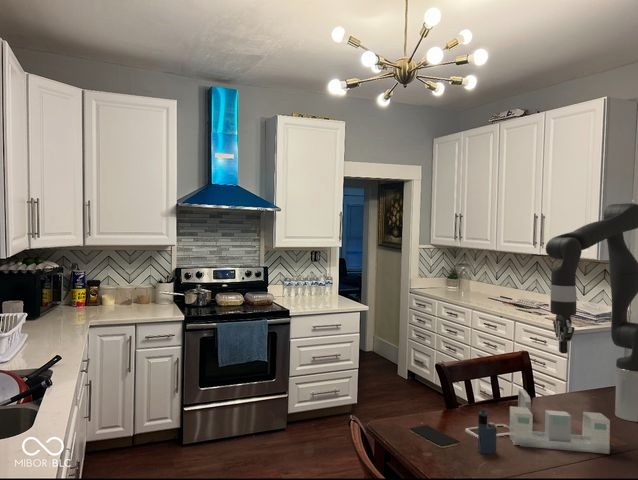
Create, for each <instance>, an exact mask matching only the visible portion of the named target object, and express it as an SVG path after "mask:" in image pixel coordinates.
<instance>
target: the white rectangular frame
mask: <svg viewBox="0 0 638 480" xmlns="http://www.w3.org/2000/svg"><path fill="white" fill-rule="evenodd" d="M497 426H504V427H505V428H508V429H509V427H510V426H508V425H507V424H505V423H495V427H496V428H498V427H497ZM504 427H503V428H504ZM474 429H475V430H476V429H478V426H474V427H472V426H471V427H466V428H465V431H464V432H466V433H467V434H469V435H470V436H472V435H473V437H474V436H475V437H474V438H476V437H477V438H476V439H478V433H477V434H476V433H475V432H473V431H472V430H474ZM504 435H509V432H503V433H502V432H501V433H497V436H504ZM504 437H505V436H504Z"/></svg>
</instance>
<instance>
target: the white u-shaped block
mask: <svg viewBox="0 0 638 480" xmlns="http://www.w3.org/2000/svg"><path fill="white" fill-rule="evenodd" d="M533 416H534V414H533V413H532V412H530V410H529V409H528V408H526V407H518V406H512V405H511V406H509V426H508V427H509V428H508V433H509V436H508V438H509V437H510V438H509V439H510V441H511V440H512V441H511V442H513V443H512V445H513V446H514V445H520V446H519V447H526V448H539V449H550V450H551V449H552V450H562V451H572V452H573V451H574V452H587V453H594V454H595V453H596V454H597V453H598V454H606V455H607V454H608V455H609V454H610V451H611V445H610V439H611V438H610V437H611V435H610V433H611V432H610V430H611V428H610V427H611V424H610V423H611V420H610V419H609V418H608V417H607V416H605V415H604V414H602V413H601V412H589V411H582V423H583V435H582V434H572V433H571V442H565V441H553V440H547V439H546V438H545V431H536V430H535V431H533V418H534V417H533Z"/></svg>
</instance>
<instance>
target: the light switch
mask: <svg viewBox="0 0 638 480" xmlns="http://www.w3.org/2000/svg"><path fill="white" fill-rule="evenodd" d="M517 397H518V398H517V401H518V402H517V407H526V408H528V409H529V410H530V412H531V411H532V406H531V405H532V401H531V397H530V395H529V394H528V392H527V391H526V389H524V388H519V389H518V396H517ZM531 413H532V412H531Z"/></svg>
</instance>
